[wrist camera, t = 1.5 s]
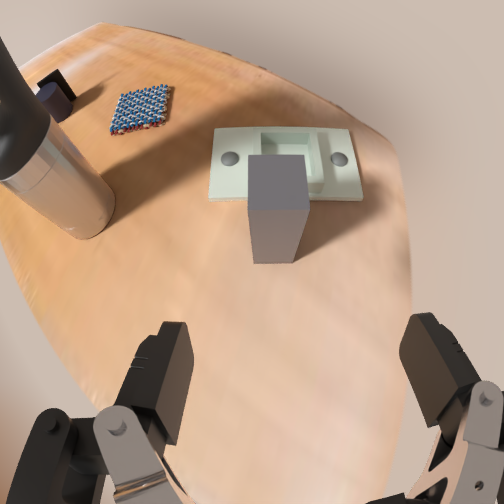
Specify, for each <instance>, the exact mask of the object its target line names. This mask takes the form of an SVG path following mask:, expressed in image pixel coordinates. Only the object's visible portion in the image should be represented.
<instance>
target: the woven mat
mask: <svg viewBox="0 0 504 504" xmlns="http://www.w3.org/2000/svg"><path fill="white" fill-rule="evenodd" d="M146 89H147V88H144V91H143V90H141V91H140V92H139V89H138V90H137V91H136V92H133V94H131V91H130V92H129V95H128V94H126V95H125V96H124V97H123V95H124V94H121V97H120V99H119V100H118V101H119V102H118V103H119V104H118V103H117V104H118V105H116V106H117V108H116V110H115V111H114V112H115V114H114V116H112V117H114V118H113V119H114V120H113V119H112V120H113V121H112V122H111V123H112V124H111V125H110V127H109V129H110V132H111V136H115V135H119V134H120V135H121V134H123V133H127V132H132V131H136V130H141V129H148V127H149V128H151V127H156V126H161V125H164V124H165V123H162V121H163V120H165V119H166V117H165V116H166V115H167V114H163V112H165V111H167V108H166V106H167V105H165V104H166V103H167V101H166V99H169V97H170V96H169V95H170V94H167V92H169V91H170V90H171V88H168V86H167V85H165V86H164V88H163V84H161V85H160V88H159V86H157V88H156V89H155V86H153V87H152V90H151V88H149V89H148V90H147V91H146ZM139 95H140V96H139ZM161 101H162V102H161ZM156 102H157V103H156ZM153 122H154V124H152V123H153ZM157 122H159V123H158V124H157ZM139 125H141V127H139ZM131 127H132V129H130V128H131ZM127 128H128V130H126V129H127ZM114 131H116V132H115V133H114Z"/></svg>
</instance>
